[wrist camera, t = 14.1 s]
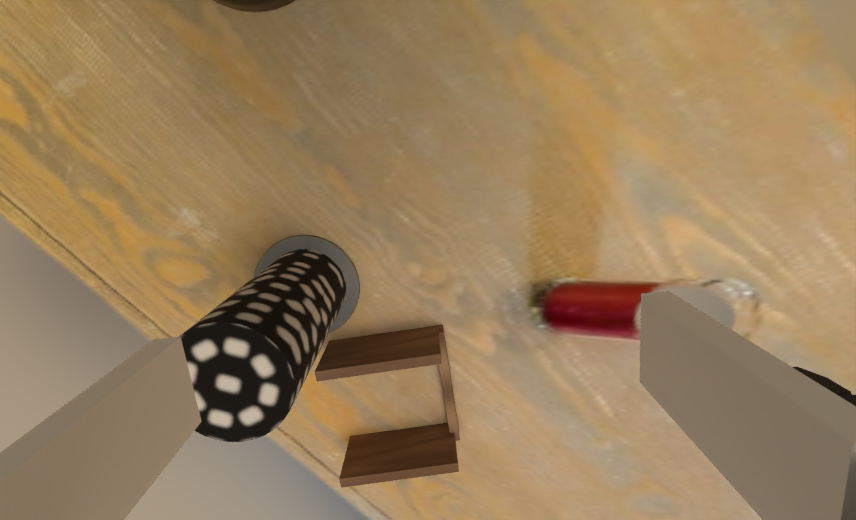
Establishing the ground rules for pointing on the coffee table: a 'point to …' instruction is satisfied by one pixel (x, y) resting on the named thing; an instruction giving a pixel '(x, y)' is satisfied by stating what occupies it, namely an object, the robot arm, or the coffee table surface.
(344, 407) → the coffee table surface
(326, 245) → the coaster
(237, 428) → the spotted tube
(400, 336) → the rack
